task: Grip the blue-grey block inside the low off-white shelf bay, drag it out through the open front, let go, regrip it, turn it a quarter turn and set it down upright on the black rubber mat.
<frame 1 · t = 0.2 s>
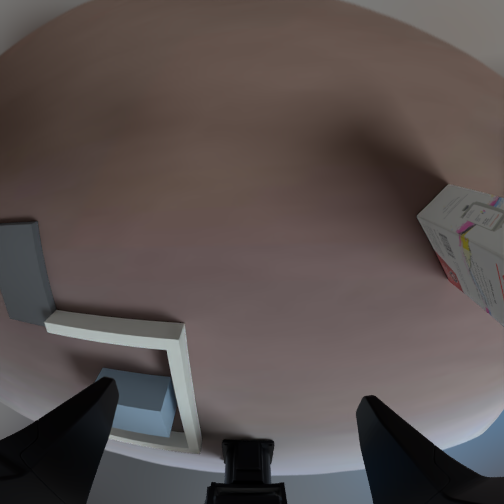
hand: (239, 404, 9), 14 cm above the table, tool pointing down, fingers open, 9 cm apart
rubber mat: (22, 273, 23), on the table
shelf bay: (139, 387, 27), on the table
ink cartridge box: (449, 233, 22), on the table
blank block: (139, 386, 28), on the table
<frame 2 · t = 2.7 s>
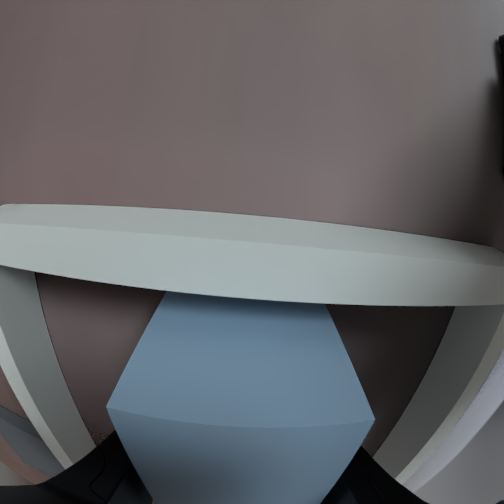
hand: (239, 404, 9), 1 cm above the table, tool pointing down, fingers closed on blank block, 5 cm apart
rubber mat: (56, 454, 13), on the table
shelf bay: (239, 384, 10), on the table
blank block: (239, 384, 10), on the table, touching gripper
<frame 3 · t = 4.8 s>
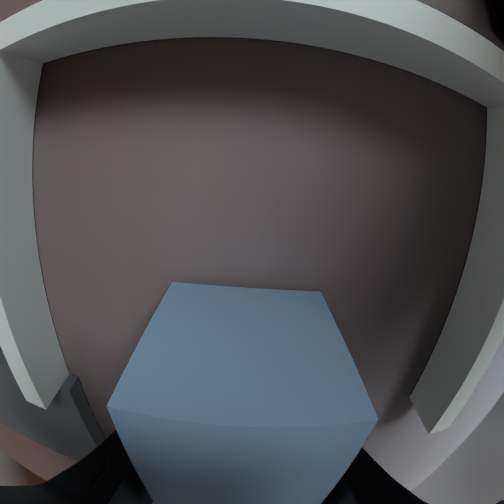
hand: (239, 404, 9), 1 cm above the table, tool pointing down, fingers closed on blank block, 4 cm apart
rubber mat: (27, 399, 12), on the table
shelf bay: (259, 207, 8), on the table
blank block: (239, 384, 10), on the table, touching gripper
when the fingers open (1 cm above the table, at t = 7.1 s): blank block stays where it is, on the table.
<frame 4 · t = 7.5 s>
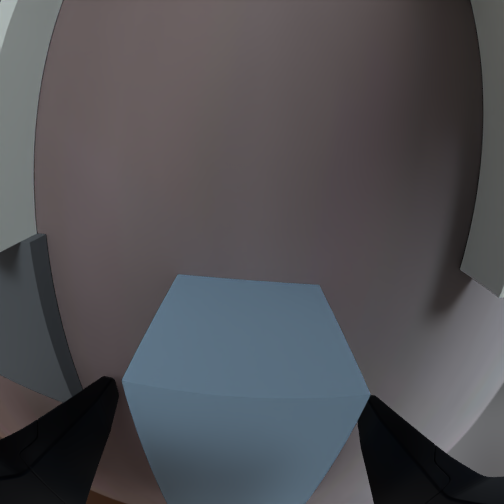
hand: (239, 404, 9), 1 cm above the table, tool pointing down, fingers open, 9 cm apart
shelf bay: (277, 1, 6), on the table
blank block: (240, 372, 10), on the table
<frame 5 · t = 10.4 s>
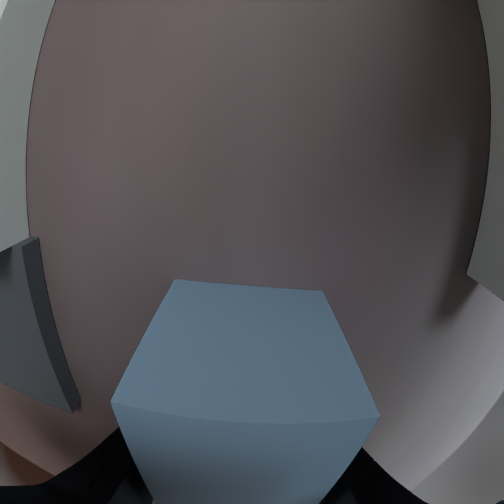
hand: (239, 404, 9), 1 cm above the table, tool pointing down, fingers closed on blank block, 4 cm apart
blank block: (239, 382, 10), on the table, touching gripper
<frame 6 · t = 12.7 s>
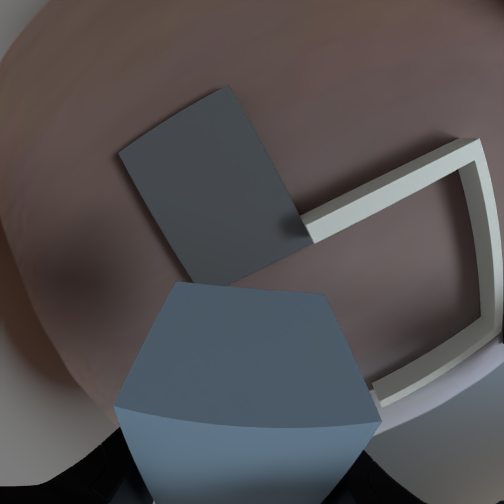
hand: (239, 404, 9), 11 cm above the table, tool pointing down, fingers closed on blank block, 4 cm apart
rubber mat: (215, 192, 18), on the table
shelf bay: (433, 275, 20), on the table
blank block: (240, 384, 10), point 10 cm above the table, touching gripper
when the fingers open (3 cm above the table, at t = 14.8 s): blank block drops 1 cm, resting on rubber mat.
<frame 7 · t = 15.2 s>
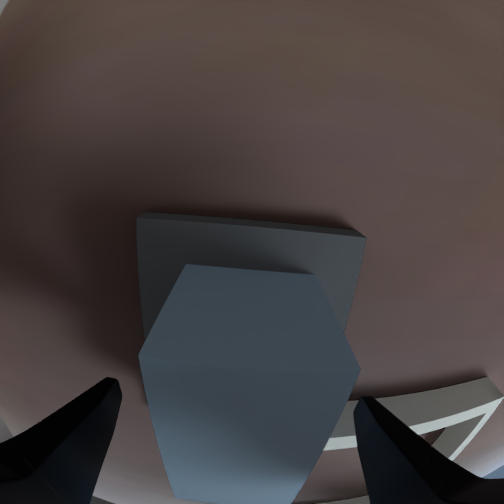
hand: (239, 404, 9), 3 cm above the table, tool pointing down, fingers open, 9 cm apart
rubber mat: (241, 344, 12), on the table
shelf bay: (378, 464, 17), on the table
blank block: (242, 359, 11), point 1 cm above the table, touching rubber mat
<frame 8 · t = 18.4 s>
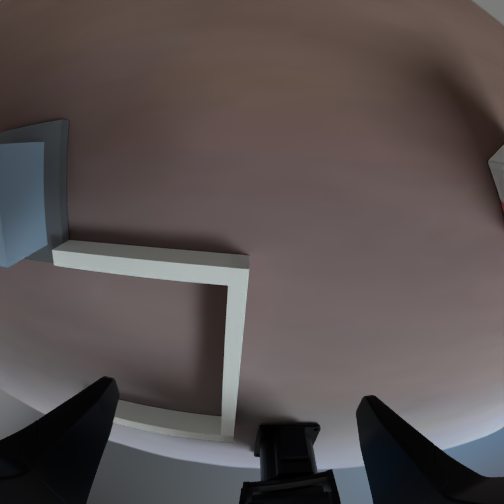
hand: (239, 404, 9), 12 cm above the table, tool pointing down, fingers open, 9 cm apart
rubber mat: (32, 192, 18), on the table
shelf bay: (166, 351, 23), on the table
blank block: (25, 194, 17), point 1 cm above the table, touching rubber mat
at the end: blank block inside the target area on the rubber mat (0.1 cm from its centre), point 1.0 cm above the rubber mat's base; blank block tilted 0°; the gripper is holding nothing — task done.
